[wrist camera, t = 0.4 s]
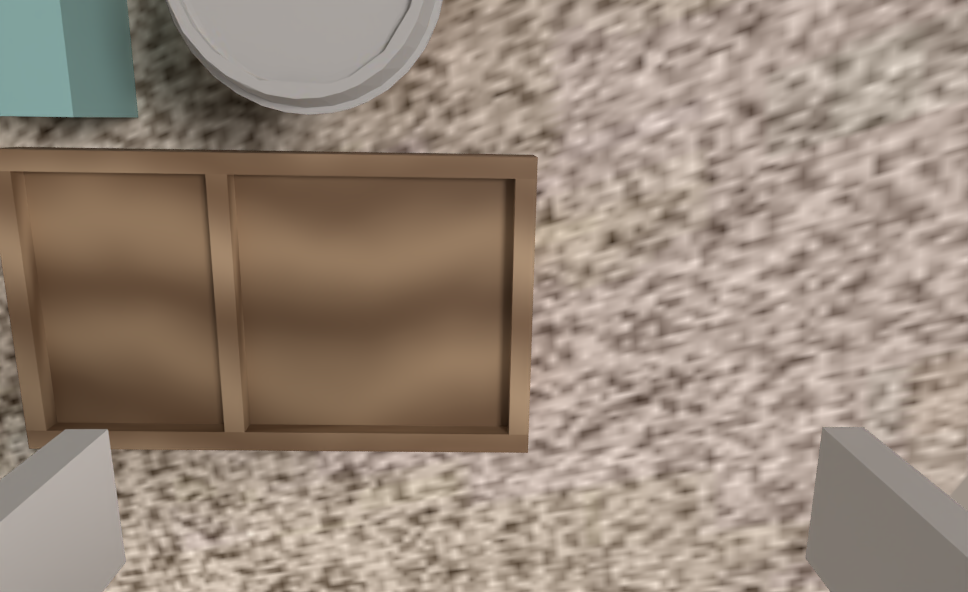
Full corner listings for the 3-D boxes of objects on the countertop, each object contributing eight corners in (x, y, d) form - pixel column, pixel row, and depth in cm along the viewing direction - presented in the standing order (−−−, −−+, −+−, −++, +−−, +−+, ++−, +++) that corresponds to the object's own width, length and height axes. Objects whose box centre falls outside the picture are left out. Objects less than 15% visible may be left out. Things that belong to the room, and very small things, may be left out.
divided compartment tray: (18, 146, 35) (-16, 148, 33) (533, 154, 36) (537, 157, 34) (56, 428, 39) (29, 448, 37) (524, 432, 40) (527, 452, 37)
